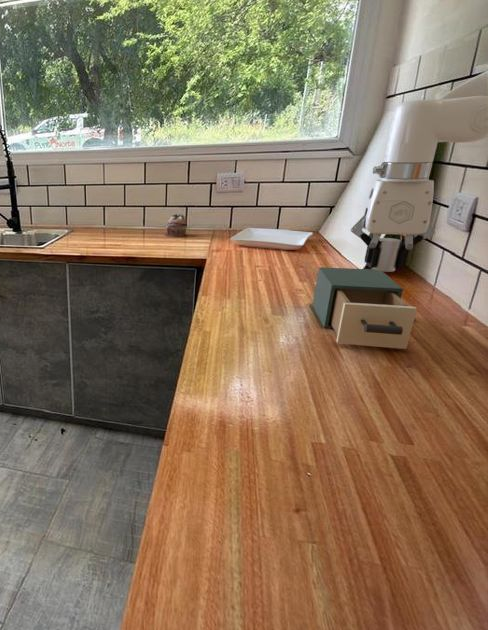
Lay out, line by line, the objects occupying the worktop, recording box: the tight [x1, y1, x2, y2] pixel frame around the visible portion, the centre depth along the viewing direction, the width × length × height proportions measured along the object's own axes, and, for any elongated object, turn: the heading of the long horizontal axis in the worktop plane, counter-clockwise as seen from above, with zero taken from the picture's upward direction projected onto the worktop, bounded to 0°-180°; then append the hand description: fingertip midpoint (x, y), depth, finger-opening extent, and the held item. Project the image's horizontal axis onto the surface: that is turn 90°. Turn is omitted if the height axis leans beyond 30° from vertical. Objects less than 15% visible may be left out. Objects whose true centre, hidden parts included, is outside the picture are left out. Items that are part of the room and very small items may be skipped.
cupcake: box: [165, 213, 188, 238], centre depth 208 cm, size 10×10×10 cm
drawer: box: [329, 289, 418, 350], centre depth 95 cm, size 19×12×9 cm, turn 162°
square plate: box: [230, 227, 314, 251], centre depth 186 cm, size 27×27×4 cm
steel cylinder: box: [371, 237, 402, 273], centre depth 90 cm, size 4×4×6 cm
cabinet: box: [311, 266, 404, 329], centre depth 107 cm, size 16×14×11 cm
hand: (383, 265), depth 91 cm, fingers closed on steel cylinder, 4 cm apart
